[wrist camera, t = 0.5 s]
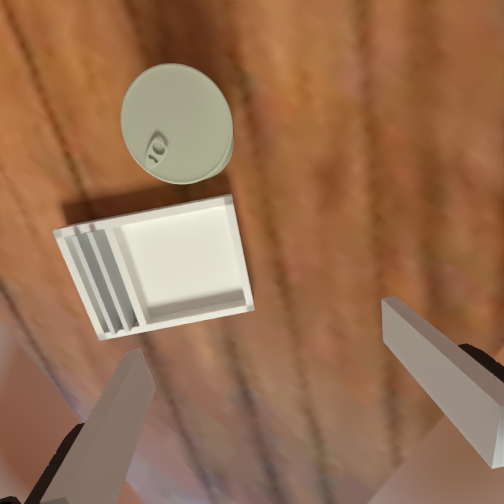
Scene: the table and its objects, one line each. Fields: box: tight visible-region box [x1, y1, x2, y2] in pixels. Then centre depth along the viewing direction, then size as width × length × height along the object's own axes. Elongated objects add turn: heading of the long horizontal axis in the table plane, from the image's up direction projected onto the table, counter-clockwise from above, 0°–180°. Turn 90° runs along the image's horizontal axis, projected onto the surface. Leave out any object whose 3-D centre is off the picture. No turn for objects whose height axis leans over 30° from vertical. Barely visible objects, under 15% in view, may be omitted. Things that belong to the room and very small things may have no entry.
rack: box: [52, 193, 255, 341], centre depth 35 cm, size 16×22×4 cm
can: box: [120, 63, 234, 184], centre depth 27 cm, size 9×9×12 cm
